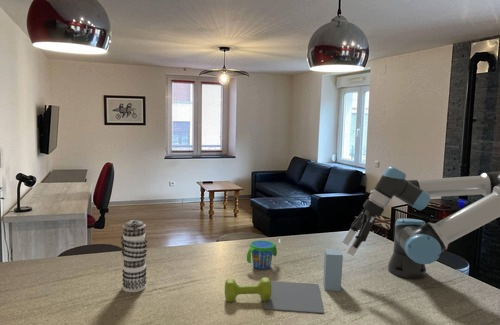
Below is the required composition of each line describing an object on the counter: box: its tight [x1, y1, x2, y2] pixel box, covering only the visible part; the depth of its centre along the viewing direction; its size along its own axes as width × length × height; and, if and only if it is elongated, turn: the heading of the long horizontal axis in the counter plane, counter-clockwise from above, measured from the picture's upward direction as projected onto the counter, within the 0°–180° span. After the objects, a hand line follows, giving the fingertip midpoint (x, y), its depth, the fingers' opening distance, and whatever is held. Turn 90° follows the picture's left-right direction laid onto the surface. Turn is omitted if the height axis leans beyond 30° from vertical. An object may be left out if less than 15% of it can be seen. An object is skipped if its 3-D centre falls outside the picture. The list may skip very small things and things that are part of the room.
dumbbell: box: [224, 276, 272, 303], centre depth 135 cm, size 16×8×7 cm, turn 93°
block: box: [322, 248, 344, 292], centre depth 146 cm, size 6×6×14 cm
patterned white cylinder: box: [120, 219, 148, 293], centre depth 141 cm, size 9×9×25 cm
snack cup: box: [246, 239, 278, 270], centre depth 165 cm, size 16×10×10 cm
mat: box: [263, 280, 325, 315], centre depth 139 cm, size 20×22×1 cm
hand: (347, 248), depth 151 cm, fingers open, 13 cm apart
